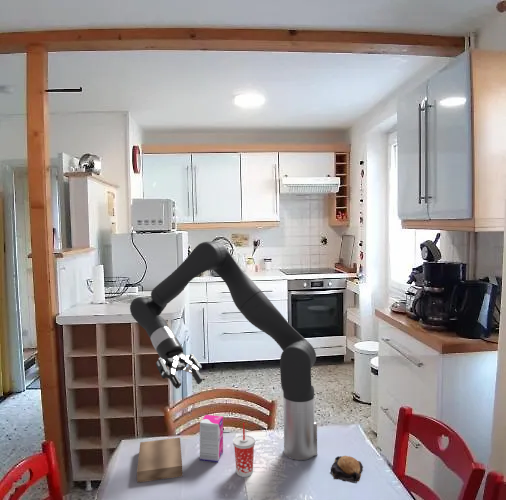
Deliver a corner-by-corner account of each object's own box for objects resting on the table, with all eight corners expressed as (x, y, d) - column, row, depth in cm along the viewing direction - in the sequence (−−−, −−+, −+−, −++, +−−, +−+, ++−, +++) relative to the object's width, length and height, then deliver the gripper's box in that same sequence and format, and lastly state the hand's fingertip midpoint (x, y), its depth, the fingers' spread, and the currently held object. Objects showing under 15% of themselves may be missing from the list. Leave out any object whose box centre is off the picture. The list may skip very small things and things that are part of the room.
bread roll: (334, 459, 122) (334, 447, 122) (363, 464, 119) (363, 451, 119) (328, 480, 112) (328, 467, 112) (361, 485, 109) (360, 472, 109)
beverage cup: (251, 480, 112) (250, 429, 111) (230, 476, 114) (229, 426, 113) (258, 467, 118) (257, 419, 117) (238, 464, 120) (237, 416, 119)
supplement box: (218, 463, 120) (217, 424, 120) (199, 461, 122) (198, 422, 121) (224, 452, 126) (223, 415, 126) (205, 450, 127) (204, 414, 127)
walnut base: (180, 446, 130) (180, 437, 130) (182, 476, 114) (182, 465, 114) (140, 451, 127) (140, 442, 127) (137, 482, 112) (136, 471, 112)
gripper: (153, 338, 128) (177, 380, 119) (188, 334, 139) (213, 372, 130) (142, 354, 131) (165, 396, 122) (178, 349, 142) (201, 388, 133)
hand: (190, 384), depth 126 cm, fingers open, 8 cm apart
